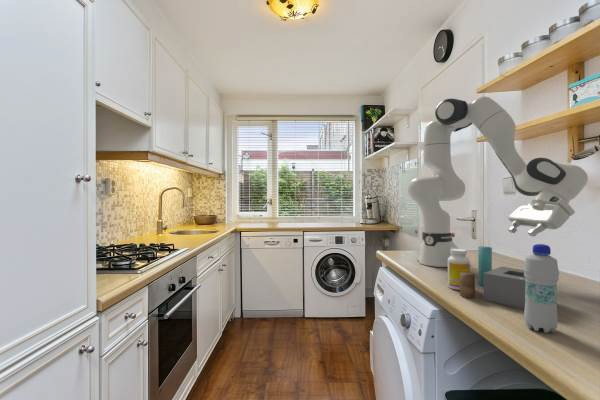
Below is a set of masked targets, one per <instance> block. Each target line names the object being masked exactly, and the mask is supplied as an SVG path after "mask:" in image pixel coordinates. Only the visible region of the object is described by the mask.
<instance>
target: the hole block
mask: <svg viewBox="0 0 600 400" xmlns="http://www.w3.org/2000/svg"><path fill="white" fill-rule="evenodd" d="M525 281H526V278H525V276H524V270H523V269H518V268H514V267H508V266H507V267H506V266H499V267H497V268H494V269H493V268H492V270H491V271H488V272H485V273H484V286H483V298H482V300H483V301H488V302H492V303H496V304H501V305H505V306H509V307H513V308H515V309H516V308H517V309H521V310H525Z"/></svg>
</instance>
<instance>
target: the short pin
mask: <svg viewBox="0 0 600 400" xmlns="http://www.w3.org/2000/svg"><path fill="white" fill-rule="evenodd" d="M475 279H476V274H475V273H473V272H470V273H469V272H461V273H460V290H459V296H460V297H461V296H462V298H464V297H465V298H464V299H474V298H475V295H476V293H475V292H476V286H475V285H476V284H475V283H476V281H475Z"/></svg>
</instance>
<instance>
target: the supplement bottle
mask: <svg viewBox="0 0 600 400" xmlns="http://www.w3.org/2000/svg"><path fill="white" fill-rule="evenodd" d="M451 254H452V256H451V257H449V258H448V267H447V287H448V288H450V289H451V290H455V291H460V273H461V272H469V273H471V272H470V271H471V269H470V263H471V262H470V259H469V258H468V257H466V255H467V250H466V249H464V248H459V249H451Z"/></svg>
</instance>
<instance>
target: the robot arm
mask: <svg viewBox="0 0 600 400" xmlns="http://www.w3.org/2000/svg"><path fill="white" fill-rule="evenodd" d="M434 116H435V118H436V119H434V120H431V121H430V122H428V123H427V124H426V126H425V129H424V130H425V131H424V134H423V135H424V137H423V164H424V165H425V166H426V167H427V168H430V170H431V172H432V174H433V176H420V177H416V178H413V179H411V181H410V182H409V184H408V188H407V192H408V194H409V197H410V198H411V199H412V200H414V202H415V203H417V205H418V207H419V208H420V211H421V213H422V214H421V215H422V226H423V231H421V232H422V233H421V237H422V242H420V246H419V255H418V256H419V257H418V258H417V259H416V260H417V262H419V264H421V265H423V266H430V267H437V268H438V267H439V268H448V258H449V257H451V256H452V254H451V249H460V248H459V247H458V245H456V243H455V242H454V241H453V238H455V232H451V215H450V214H449V212H447V211H445V210H444V209H443V208H442V207H441V203H440V202H451V201H455V200H458V199H459V200H460V199H462V198H463V196H464V195H465V192H466V184H465V182H464V181H463V180H462V179H461V178H460V177H459V176H458V175H457V173H456V172H455V170H454V168H453V164H452V156H451V155H452V153H451V137H452V134H453V133H452V132H454V133H456V132H458V131H461V130H463V129H467V128H469V127H470V126H471V125H474V126H475V128H477V130H478V131H479V132H480V133H481V134H482V135H483V137H484V138H485V140H486V141H487V142H488V143H489V145H490V146H491V148H492V149H493V151H494V153H495V154H496V156H497V157H498V159H499V160H500V162H501V163H502V164H503V166H504V167H505V169H506V170H507V172H508V173H509V175H510V176H511V178H512V180H513V181H512V182H513V185H514V187H515V190H516V191H517V192H518V193H520V194H521V195H524V196H527V197H534V196H535V197H534V198H533V199H531V203H527V204H522V205H520V206H518V207H517V208H516V209H515V210H514V211H513V212H511V213H510V214H509V216H508V220H509V221H510V222H511V224H510V227H509V228H508V232H509V233H511V234H515V233H516V232H517V231H518V229H517V228H519V227H520V226H524V227H532V229H531V228H530V229H529V230H528V231H527V235H529V236H530V237H533V238H535V237H536V236H537V235H538V234H540V233H541V232H544V231H545V230H547V229H549V230H558V229H559V228H561V227H562V226H563V225H564V224H565V223H566V222H567V221H568V220H569V219H570V217H572V216H573V215H574V214H575V213H576V211H575V210H574V208H573V207H572V206H571V205H570V201H572V200H574V199H575V198H576V197H577V196H578V195H579V194H580V193H581V192H582V191H583V189H584V188H585V186H587V184H588V180H589V175H588V173H587V172H586V171H585V170H584V169H583V168H582V167H580V166H579V165H576V164H562V163H559V162H555V161H553V160H552V159H549V158H547V157H537V158H533V159H531V160H529V162H528V163H526V162H525V161H524V159H523V158H522V157H521V155H520V154H519V152H518V150H517V149H516V145H515V135H516V128H517V127H516V123H515V121H514V119H513V118H512V116H511V115H510V114H509V113H508V111H507V110H506V109H505V108H503V107H502V106H501V105H500V104H499V103H498V102H496V101H495V100H494V99H493V98H491V97H489V96H480V97H478V98H476V99H475V100H473V101H472V102H470V103H467V101H466V100H462V99H458V98H446V99H443V100H441V101H439V103H438V104H437V105H436V108H435V110H434Z"/></svg>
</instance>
